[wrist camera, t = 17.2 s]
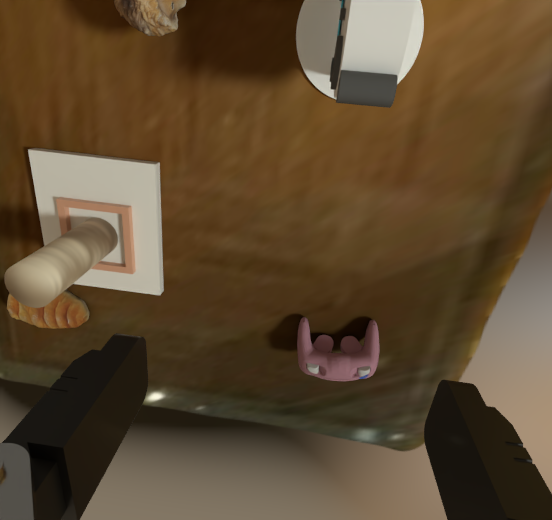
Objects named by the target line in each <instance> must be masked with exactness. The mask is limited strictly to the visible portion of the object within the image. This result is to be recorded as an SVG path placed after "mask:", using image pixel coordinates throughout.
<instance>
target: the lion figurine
mask: <svg viewBox="0 0 552 520" xmlns="http://www.w3.org/2000/svg"><path fill="white" fill-rule="evenodd" d="M114 5H115V7H116V9H117V11H118V12H119V13H120V16H121V17H122V18H124V19H125V20H126V21H128V22H129V24H130V25H131V26H132V27H134V28H136V29H138V31H142V32H143V33H144V34H147V35H148V36H150V35H152V36H155V35H156V36H163V35H164V34H168V33H170V32H174V31H175V30H177V29H178V18H177V12H178V11H179V10H180V9H181V8H183V7H184V6H185V5H186V0H114Z"/></svg>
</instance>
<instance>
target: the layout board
mask: <svg viewBox="0 0 552 520" xmlns="http://www.w3.org/2000/svg"><path fill="white" fill-rule="evenodd" d="M28 153H29V159H30V165H31V170H32V176H33V182H34V188H35V194H36V200H37V206H38V211H39V217H40V223H41V229H42V235H43V241H44V246H45V245H47V244H49V243H50V242H52V241H54V240H55V239H57V238H59V237H60V236H62V235H63V234H65V233H67V232H68V231H70V230H72V229H73V228H75V227H76V226H78V225H80V224H81V223H83V222H85V221H86V220H88V219H90V218H101V219H103V220H105V221H107V222H109V223H110V224H111V225H112V226H113V227H114V229H115V230H116V232H117V235H118V244H117V246H116V248H115V249H114V250H113V251H112V252H110V253H109V254H108V255H107V256H106V257H104V258H103V259H102V260H101V261H100V262H98V263H97V264H96V265H95V266H93V267H92V268H91V269H90V270H89V271H87V272H86V273H85V274H84V275H83V276H81V277H80V278H79V279H78V280H77V281H75V282H74V283H73V284H79V285H87V286H94V287H102V288H109V289H117V290H124V291H132V292H139V293H147V294H154V295H161V293H162V292H163V291H164V290H163V258H162V226H161V193H160V162H152V161H143V160H135V159H126V158H118V157H109V156H100V155H92V154H83V153H75V152H66V151H58V150H49V149H41V148H32V149H28Z"/></svg>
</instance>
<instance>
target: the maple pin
mask: <svg viewBox="0 0 552 520" xmlns="http://www.w3.org/2000/svg"><path fill="white" fill-rule="evenodd" d="M117 244H118V235H117V232H116V230H115V229H114V227H113V226H112V225H111V224H110V223H109V222H107V221H105V220H103V219H101V218H90V219H88V220H86V221H85V222H83V223H81V224H80V225H78V226H76V227H75V228H73V229H72V230H70V231H68V232H67V233H65V234H63V235H62V236H60V237H59V238H57V239H55V240H54V241H52V242H50V243H49V244H47V245H45V246H44V247H42V248H41V249H39V250H37V251H36V252H34V253H32V254H31V255H29V256H28V257H26V258H24V259H23V260H21V261H19V262H18V263H16V264H15V265H13V266H11V267H10V268H9V269H8V270H7V271H6V273H5V277H4V280H5V285H6V288H7V289H8V291H9V293H10V294H11V295H12V296H13V297H14V298H15V299H16V300H17V301H18V302H20V303H22V304H23V305H26V306H28V307H32V308H41V307H44V306H46V305H48V304H49V303H50V302H51V301H52V300H54V299H55V298H56V297H57V296H58V295H60V294H61V293H62V292H63V291H64V290H66V289H67V288H68V287H69V286H71V285H72V284H73V283H74V282H75V281H77V280H78V279H79V278H80V277H81V276H83V275H84V274H85V273H86V272H87V271H89V270H90V269H91V268H92V267H93V266H95V265H96V264H97V263H98V262H100V261H101V260H102V259H103V258H104V257H106V256H107V255H108V254H109V253H110V252H112V251H113V250H114V249H115V248H116V246H117Z"/></svg>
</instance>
